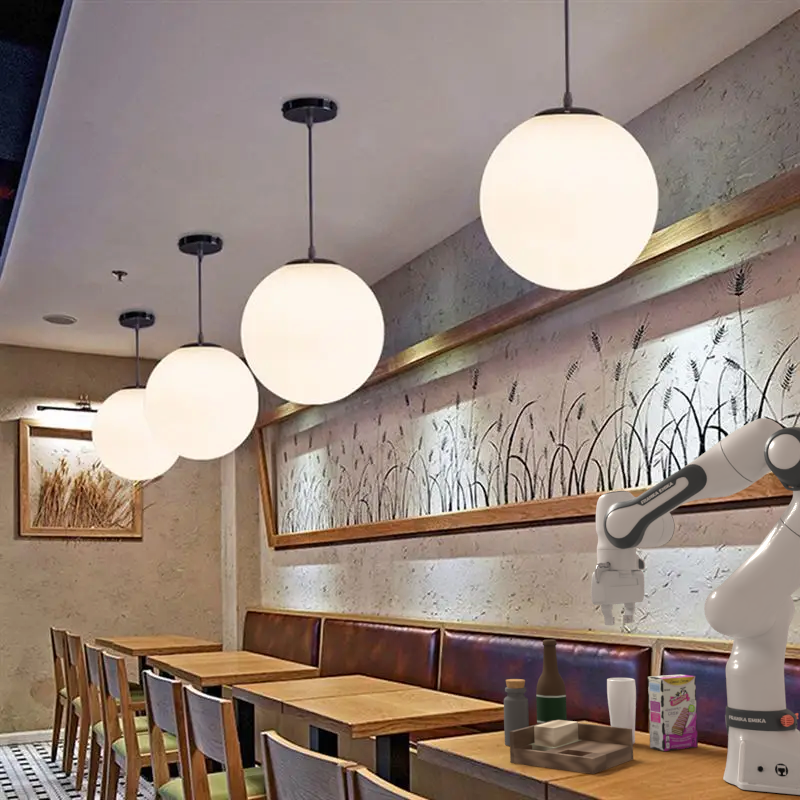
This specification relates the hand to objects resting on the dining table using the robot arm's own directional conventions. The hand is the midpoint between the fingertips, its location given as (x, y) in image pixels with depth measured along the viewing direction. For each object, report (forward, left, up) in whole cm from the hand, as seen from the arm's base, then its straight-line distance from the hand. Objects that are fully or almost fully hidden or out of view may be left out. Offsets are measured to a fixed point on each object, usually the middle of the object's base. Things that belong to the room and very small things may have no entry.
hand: (619, 624), depth 223 cm
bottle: (+28, 0, -29) cm, 40 cm away
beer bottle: (+24, -10, -29) cm, 39 cm away
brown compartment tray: (+8, +9, -29) cm, 32 cm away
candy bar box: (-4, -18, -29) cm, 35 cm away
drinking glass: (+8, -16, -29) cm, 34 cm away
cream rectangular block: (+13, +7, -26) cm, 30 cm away
